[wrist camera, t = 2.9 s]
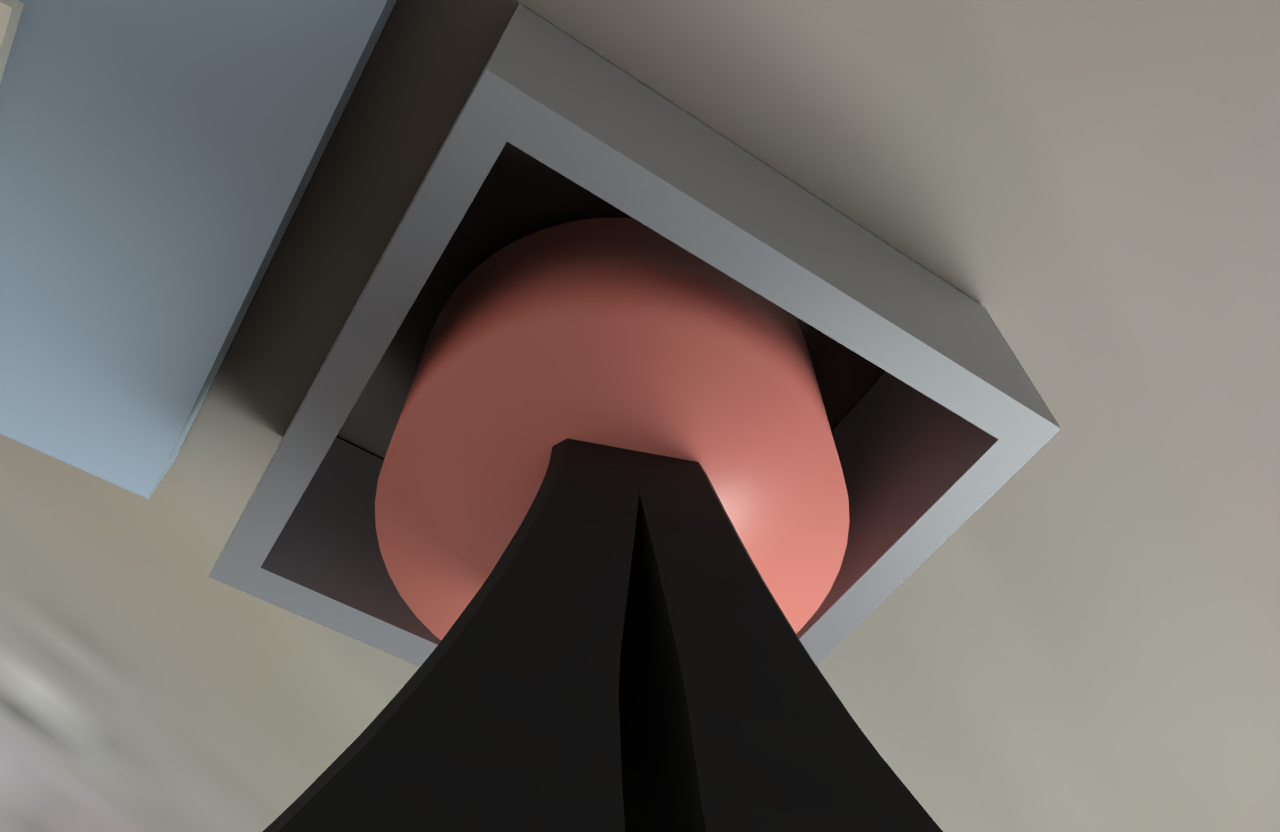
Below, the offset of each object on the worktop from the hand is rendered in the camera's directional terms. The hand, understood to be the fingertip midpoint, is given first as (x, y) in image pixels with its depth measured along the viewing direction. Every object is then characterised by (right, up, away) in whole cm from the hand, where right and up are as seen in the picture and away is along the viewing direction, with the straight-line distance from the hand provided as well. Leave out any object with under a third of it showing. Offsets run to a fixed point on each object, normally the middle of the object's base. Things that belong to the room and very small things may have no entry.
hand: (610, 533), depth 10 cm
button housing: (0, +2, +2) cm, 3 cm away
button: (0, +1, +2) cm, 2 cm away
